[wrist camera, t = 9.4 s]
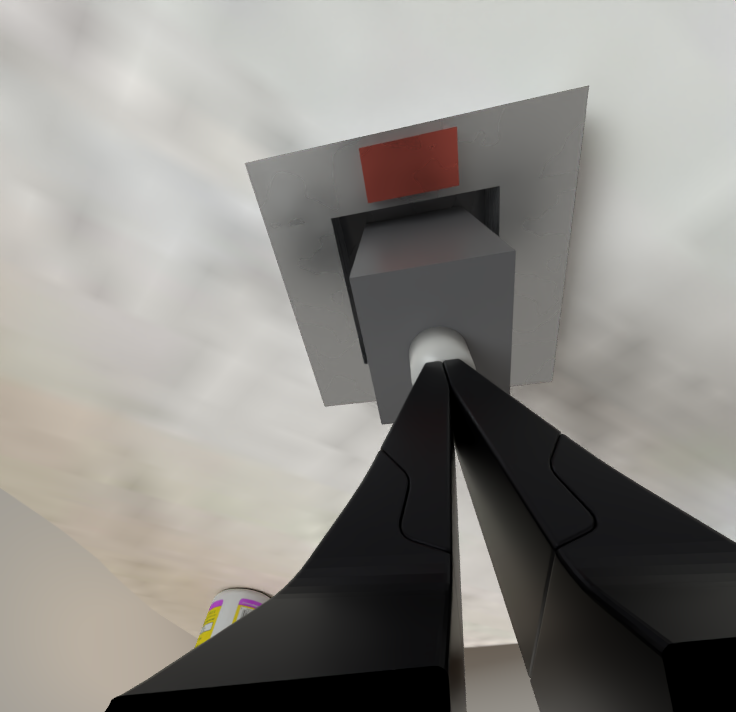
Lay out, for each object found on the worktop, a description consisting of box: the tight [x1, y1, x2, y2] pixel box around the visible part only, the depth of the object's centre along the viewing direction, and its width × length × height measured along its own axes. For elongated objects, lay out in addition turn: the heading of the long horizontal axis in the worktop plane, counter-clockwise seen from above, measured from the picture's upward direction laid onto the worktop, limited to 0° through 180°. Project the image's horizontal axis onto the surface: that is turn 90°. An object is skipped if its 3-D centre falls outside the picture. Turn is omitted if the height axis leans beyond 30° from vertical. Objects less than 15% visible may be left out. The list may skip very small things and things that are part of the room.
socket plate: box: [245, 86, 589, 407], centre depth 14 cm, size 11×11×3 cm
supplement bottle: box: [195, 589, 270, 648], centre depth 30 cm, size 7×7×13 cm
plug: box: [349, 206, 516, 424], centre depth 12 cm, size 4×5×8 cm
